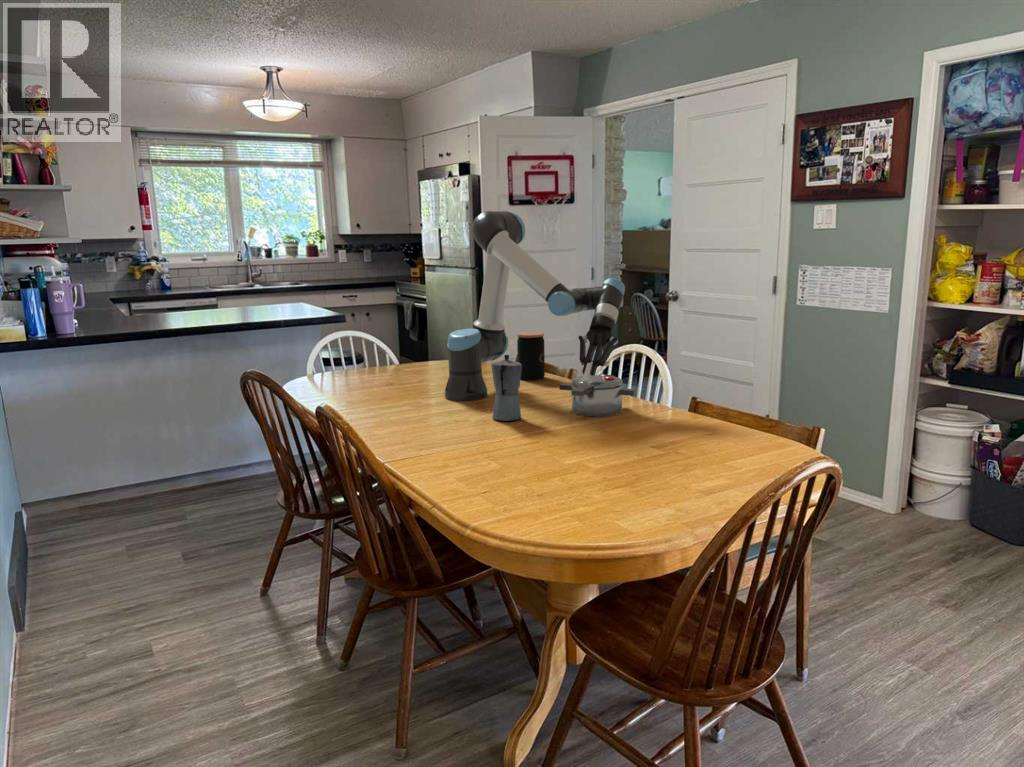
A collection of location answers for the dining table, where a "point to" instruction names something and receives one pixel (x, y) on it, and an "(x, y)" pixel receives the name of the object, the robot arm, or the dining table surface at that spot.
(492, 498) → the dining table surface
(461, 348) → the robot arm
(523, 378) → the coffee jar
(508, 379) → the moka pot
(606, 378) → the lid
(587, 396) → the pot
